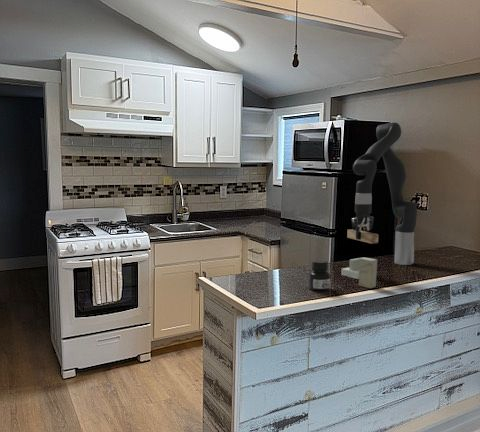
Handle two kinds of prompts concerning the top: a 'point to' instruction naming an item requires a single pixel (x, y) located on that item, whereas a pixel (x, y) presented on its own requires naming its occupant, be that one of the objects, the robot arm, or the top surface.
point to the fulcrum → (352, 269)
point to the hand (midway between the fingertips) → (362, 238)
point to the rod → (363, 236)
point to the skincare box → (367, 272)
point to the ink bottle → (319, 276)
